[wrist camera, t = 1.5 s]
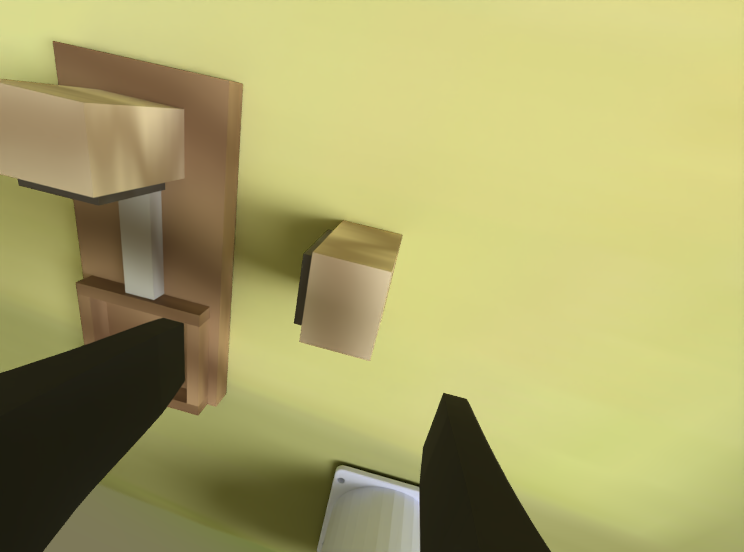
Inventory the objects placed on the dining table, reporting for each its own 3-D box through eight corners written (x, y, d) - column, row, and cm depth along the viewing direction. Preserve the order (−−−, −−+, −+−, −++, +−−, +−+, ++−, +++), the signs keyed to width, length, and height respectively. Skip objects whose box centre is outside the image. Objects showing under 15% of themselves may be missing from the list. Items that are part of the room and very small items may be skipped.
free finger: (402, 234, 18) (391, 272, 13) (385, 305, 19) (369, 360, 15) (333, 217, 18) (299, 249, 13) (321, 289, 20) (287, 338, 15)
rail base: (226, 393, 23) (160, 478, 18) (111, 361, 24) (11, 434, 18) (242, 83, 16) (140, 61, 11) (77, 46, 17) (-105, 6, 11)
